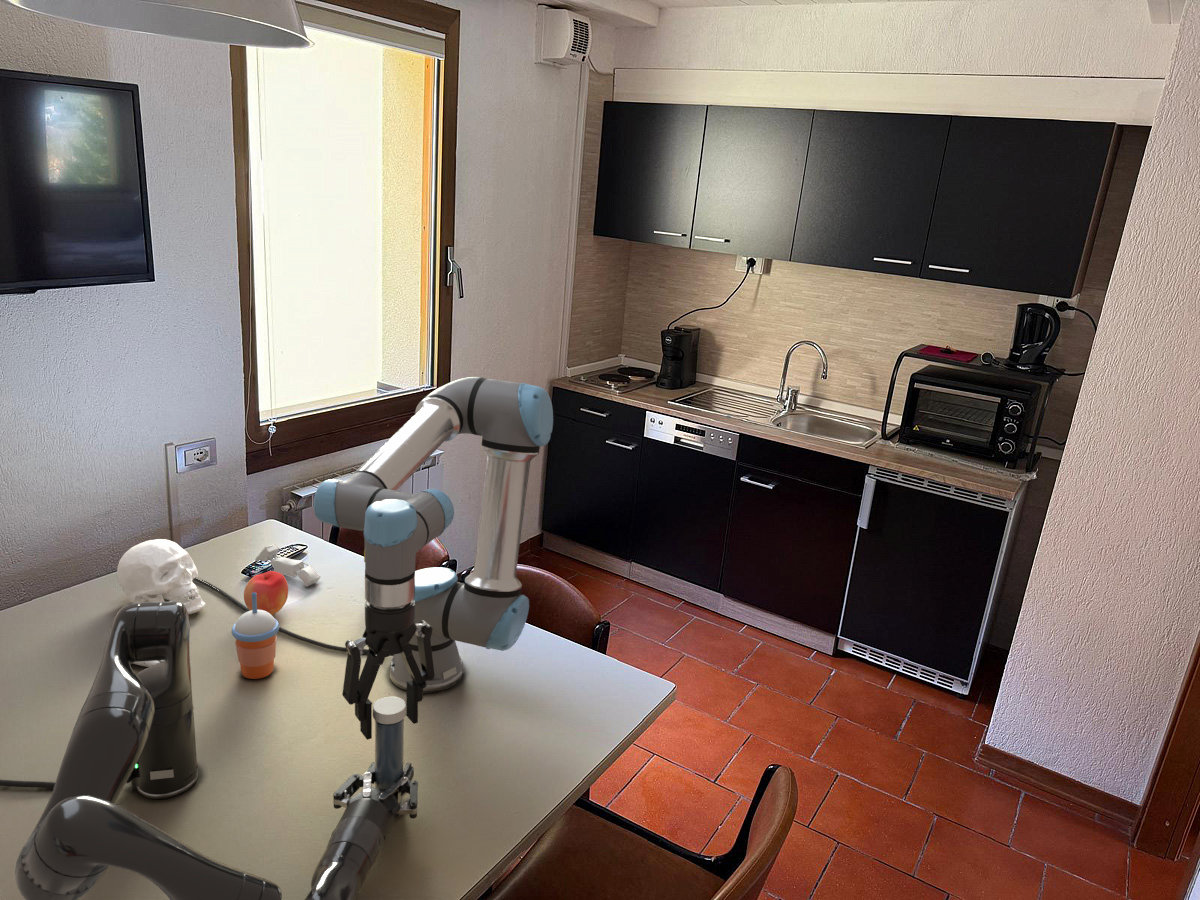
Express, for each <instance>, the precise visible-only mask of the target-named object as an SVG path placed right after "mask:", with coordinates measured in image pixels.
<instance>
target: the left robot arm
mask: <svg viewBox="0 0 1200 900" xmlns="http://www.w3.org/2000/svg"><path fill="white" fill-rule="evenodd" d="M189 615H190V614H188V611H187V608H186V606H185V605H184V604H183V601H182V602H170V601H165V602H151V603H134V604H133V603H130V604H126V605H124V606H122V607H121V608H120V609H119V610H118V611H117V613H116V614H115V616H114V618H113V621H112V623H111V627H110V630H109V633H108V636H107V641H106V644H105V646H104V647H105V648H104V651H103V653H102V658H101V661H100V665H99V667H98V670H97V673H96V676H95V678H94V681H93V683H92V685H91V688H90V690H89V692H88V694H87V696H86V699H85V701H84V703H83V705H82V708H81V710H80V712H79V714H78V716H77V719H76V721H75V724H74V726H73V728H72V733H71V734H70V737H69V740H68V743H67V747H66V749H65V751H64V754H63V757H62V759H61V760H62V761H61V762H60V766H59V769H58V773H57V776H56V779H55V782H52V781H37V780H36V781H33V780H31V781H30V780H29V781H28V780H27V781H26V780H10V779H0V787H13V788H40V789H52V792H51V795H50V797H49V800H48V802H47V803H46V806H45V807H44V810H43V812H42V814H41V816H40V817H39V819H38V821H37V823H36V825H35V827H34V828H33V830H32V832H31V834H30V836H29V837H28V838H27V841H26V842H25V844H24V845H23V847H22V848H21V850H20V852H19V854H18V857H17V859H16V861H15V868H14V876H15V877H14V878H15V883H16V887H17V890H18V892H19V894H20V896H21V897H22V898H23V899H24V900H79V899H81V898H82V897H83V896H85V895H86V894H87V893H88V892H89V891H90V890H91V889H92V888H93V887H94V886H95V885H96V884H97V883H98V881H99V880H100V879H101V877H102V876H103V875H104V874H105V872H106V871H107V870H108V869H109V867H113V868H118V869H122V870H124V871H129V872H132V873H135V874H137V875H140V876H141V877H144V878H145V879H147V880H148V881H150V882H152V884H154V885H155V886H156V887H157V888H159V889H160V891H161V892H163V893H164V895H165V896H166V897H167V898H168V899H169V900H282V899H283V894H282V890H281V888H280V886H279V885H278V884H277V883H275V882H273V881H271V880H269V879H267V878H265V877H262V876H258V875H255V874H253V873H250V872H246V871H244V870H242V869H240V868H236V867H234V866H231V865H229V864H226V863H223V862H222V861H221V862H220V861H218V860H217V859H214V858H211V857H209V856H207V855H205V854H203V853H202V852H200V851H198V850H196V849H195V848H193V847H191V846H189V845H188V844H185V842H182V841H181V840H179V839H177V838H176V837H174V836H173V835H171V834H169V833H168V832H166V831H164V830H163V829H161V828H159V827H157V826H155V825H154V824H152V823H150V822H148V821H147V820H145V819H143V818H142V817H140V816H138V815H137V814H135V813H133V812H132V811H130V810H129V809H126V808H125V807H123V806H121V805H119V804H117V803H116V801H117V799H118V797H119V796H120V794H121V792H122V791H123V789H124V787H125V785H126V784H131V790H136V791H137V792H138V793H139V794H140V795H141V796H142V797H145V798H147V799H154V800H161V799H162V800H163V799H168V798H172V797H176V796H179V795H181V794H183V793H185V792H186V791H188V790H189V789H191V788H192V787H193V786H194V785H195V784H196V783H197V781H198V779H199V766H198V756H197V753H198V752H197V742H196V741H197V740H196V727H195V713H194V702H193V689H192V672H191V656H190V655H191V652H190V636H191V635H190V632H191V631H190V629H191V628H190V616H189ZM159 660H164V661H162V662H160V663H158V664H156V665H153V666H150V667H146V668H144V669H142V670H140V671H139V672H137V673H136V672H134V670H133V668H132V667H131V665H132V664H133V663H134V662H143V661H159ZM367 768H368V769H367V770H366V772H364V773H363V774H359V773H358V772H354V773H352V774H351V775H350V776H349V777H348V778H347V779H346V780H345V781H344V782H343V783H342V784H341V785H340V786H339V787H338V788H337V789H336V790H335V791H334V792H333V794H332V796H333V797H332V798H333V800H332V801H333V802H332V803H333V808H334V809H336V810H337V809H340V808H342V807H343V808H345V810H344V812H343V813H342V816H341V817H340V818H339V821H338V822H337V824H336V826H335V828H334V829H333V830H332V832H331V835H330V838H329V839H328V842H327V845H326V847H325V850H324V853H323V854H322V855H321V858H320V859H319V862H318V864H317V866H316V867H315V870H314V872H313V874H312V877H311V882H310V889H311V890H310V891H309V893H308V894H307V895H306V896H305V898H303V899H304V900H359V899H360V892H361V890H362V888H363V886H364V883H366V879H367V877H368V875H369V873H370V871H371V869H372V868H373V866H374V865H375V863H376V861H377V859H378V857H379V855H380V853H381V851H382V849H383V846H384V844H385V842H386V840H387V838H388V836H389V833H390V830H391V828H392V826H393V824H394V821H396V820H398V818H399V817H400V816H403V815H408V816H409V818H410V819H416V818H417V817H418V798H419V795H418V793H419V791H418V790H419V782H418V780H416V779H415V780H413V779H414V777H415V776H414V775H415V768H414V766H413V765H412V762H407V763H406V764H405V766H404V767H403V773H402V775H401V779H400V780H399V781H398V782H397V783H393V784H392V785H391V786H390V787H389V788H388V789H379V788H376V787H375V786H372V785H375V761H372V762H370V764H369V766H368V767H367ZM360 788H362V791H360V792H359V793H357V792H358V791H359V790H360ZM355 793H357V794H355ZM406 794H409V797H408V798H406V801H404V802H403V805H402V806H400V805H399V803H400V801H401V799H402V797H403V798H404V797H405V795H406Z"/></svg>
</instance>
